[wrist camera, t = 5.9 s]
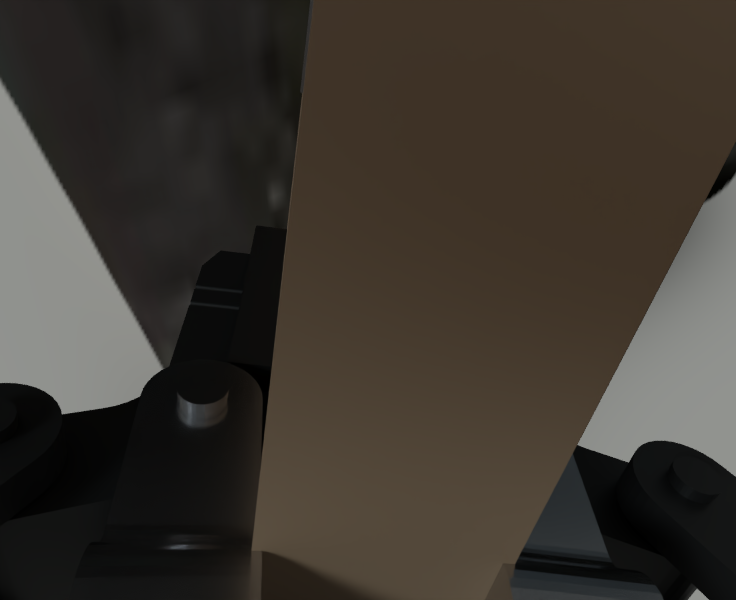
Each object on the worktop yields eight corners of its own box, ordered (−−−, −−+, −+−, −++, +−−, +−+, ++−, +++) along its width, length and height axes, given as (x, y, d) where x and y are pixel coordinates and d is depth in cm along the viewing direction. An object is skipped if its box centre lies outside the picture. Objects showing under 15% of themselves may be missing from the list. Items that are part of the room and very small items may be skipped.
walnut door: (325, -126, 11) (327, -171, 2) (498, -90, 12) (1105, 4, 3) (270, 369, 18) (212, 877, 9) (382, 380, 18) (438, 871, 9)
